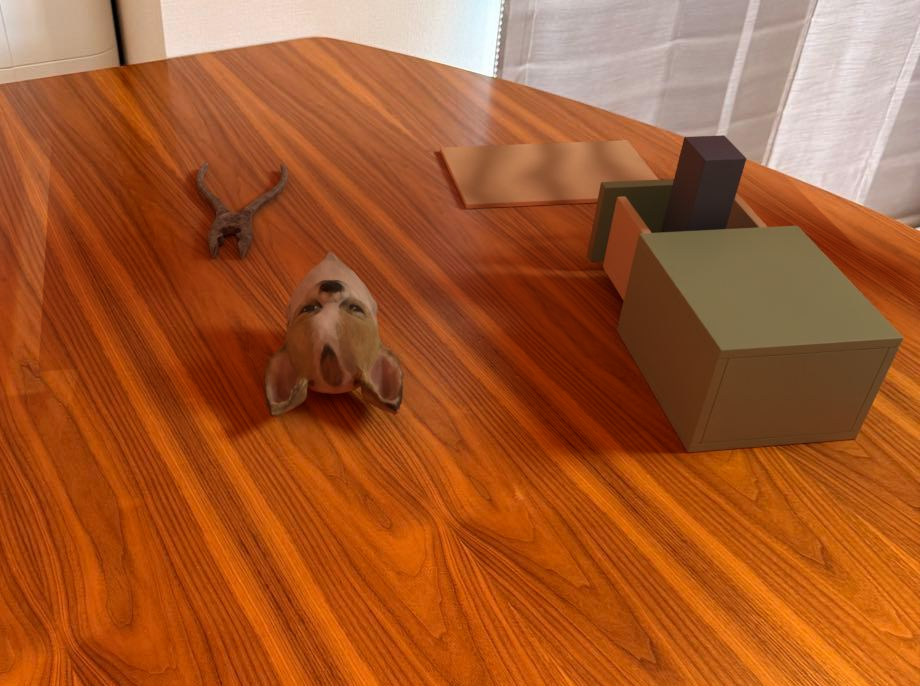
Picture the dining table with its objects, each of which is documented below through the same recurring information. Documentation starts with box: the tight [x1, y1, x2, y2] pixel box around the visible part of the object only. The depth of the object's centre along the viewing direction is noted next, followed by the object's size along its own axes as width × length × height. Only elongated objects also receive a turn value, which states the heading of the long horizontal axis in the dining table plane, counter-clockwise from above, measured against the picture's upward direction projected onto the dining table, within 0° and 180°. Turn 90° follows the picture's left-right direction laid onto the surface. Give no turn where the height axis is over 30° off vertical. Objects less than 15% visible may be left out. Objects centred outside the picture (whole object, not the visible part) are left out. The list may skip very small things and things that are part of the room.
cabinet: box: [616, 225, 904, 454], centre depth 76 cm, size 17×14×9 cm
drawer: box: [586, 178, 768, 302], centre depth 86 cm, size 20×12×7 cm, turn 9°
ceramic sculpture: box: [262, 251, 404, 418], centre depth 75 cm, size 11×9×15 cm
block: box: [661, 135, 747, 232], centre depth 82 cm, size 4×4×12 cm
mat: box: [439, 139, 660, 210], centre depth 106 cm, size 22×14×1 cm, turn 99°
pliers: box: [195, 161, 289, 259], centre depth 98 cm, size 10×1×20 cm
